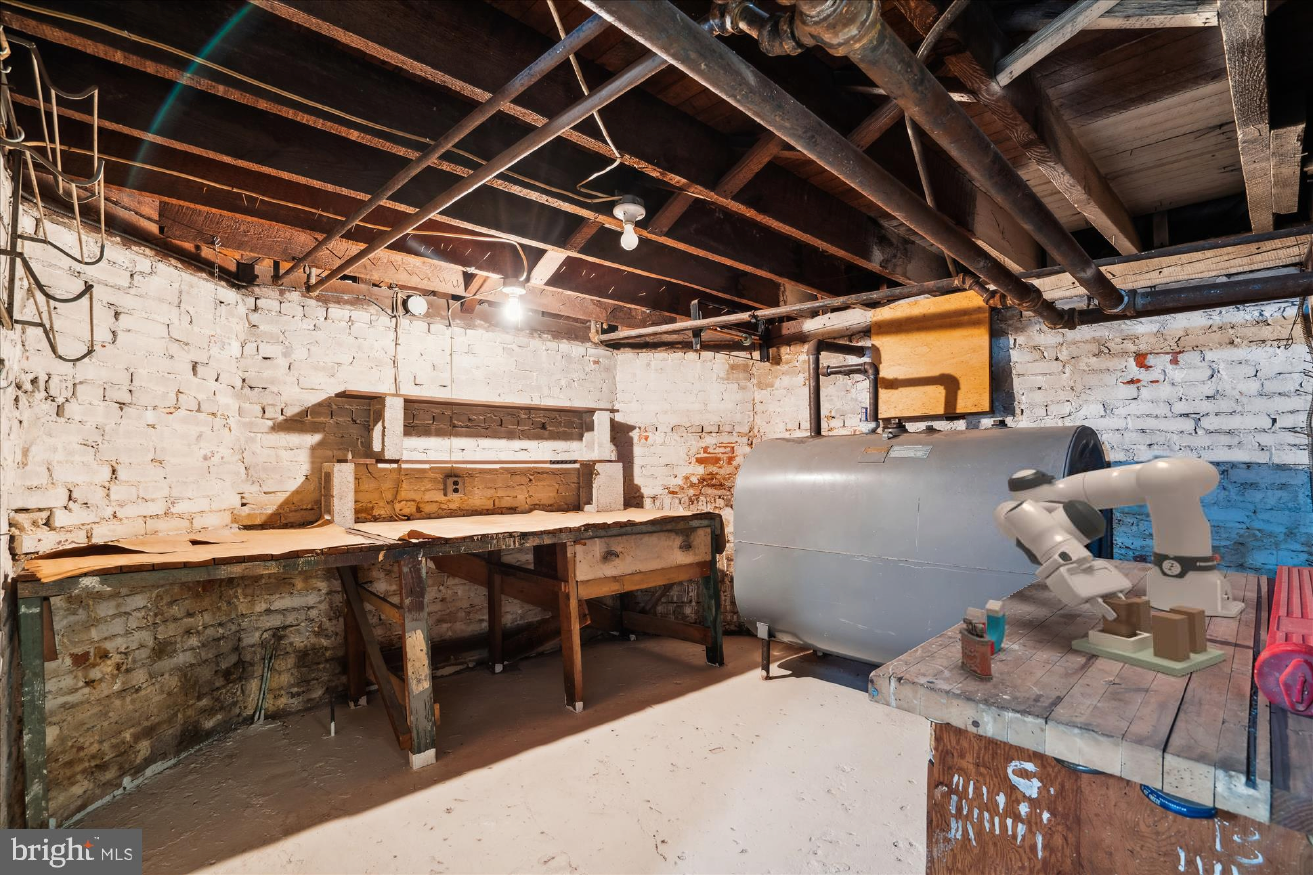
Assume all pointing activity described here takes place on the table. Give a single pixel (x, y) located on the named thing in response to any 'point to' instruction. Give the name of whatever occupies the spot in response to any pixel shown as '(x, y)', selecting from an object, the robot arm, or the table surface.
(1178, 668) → the board
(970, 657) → the lighter
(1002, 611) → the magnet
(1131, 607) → the leg
